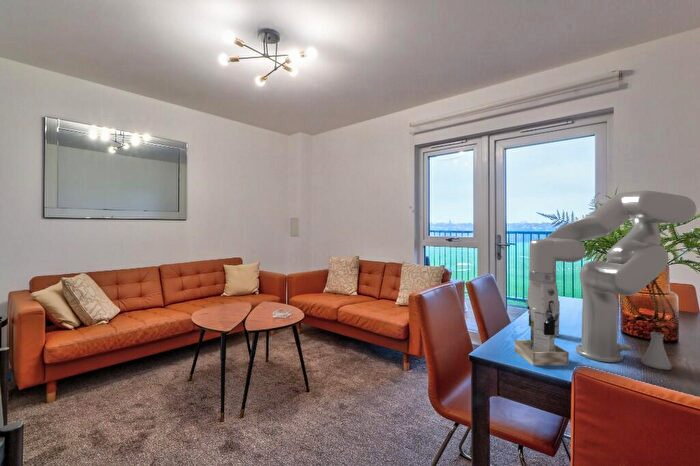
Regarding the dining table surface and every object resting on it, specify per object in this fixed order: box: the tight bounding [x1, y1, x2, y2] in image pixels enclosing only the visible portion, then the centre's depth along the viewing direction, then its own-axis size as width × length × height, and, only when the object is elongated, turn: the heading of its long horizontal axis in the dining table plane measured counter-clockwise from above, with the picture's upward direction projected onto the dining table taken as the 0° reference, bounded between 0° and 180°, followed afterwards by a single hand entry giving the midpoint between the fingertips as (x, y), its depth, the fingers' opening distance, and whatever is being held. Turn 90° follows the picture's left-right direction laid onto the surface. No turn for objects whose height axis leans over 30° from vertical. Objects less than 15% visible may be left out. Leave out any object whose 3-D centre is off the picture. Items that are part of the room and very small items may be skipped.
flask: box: [640, 331, 673, 371], centre depth 103 cm, size 7×7×10 cm
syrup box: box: [530, 308, 555, 352], centre depth 109 cm, size 6×6×14 cm
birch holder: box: [514, 339, 570, 366], centre depth 109 cm, size 11×11×4 cm
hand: (541, 330), depth 109 cm, fingers closed on syrup box, 7 cm apart
